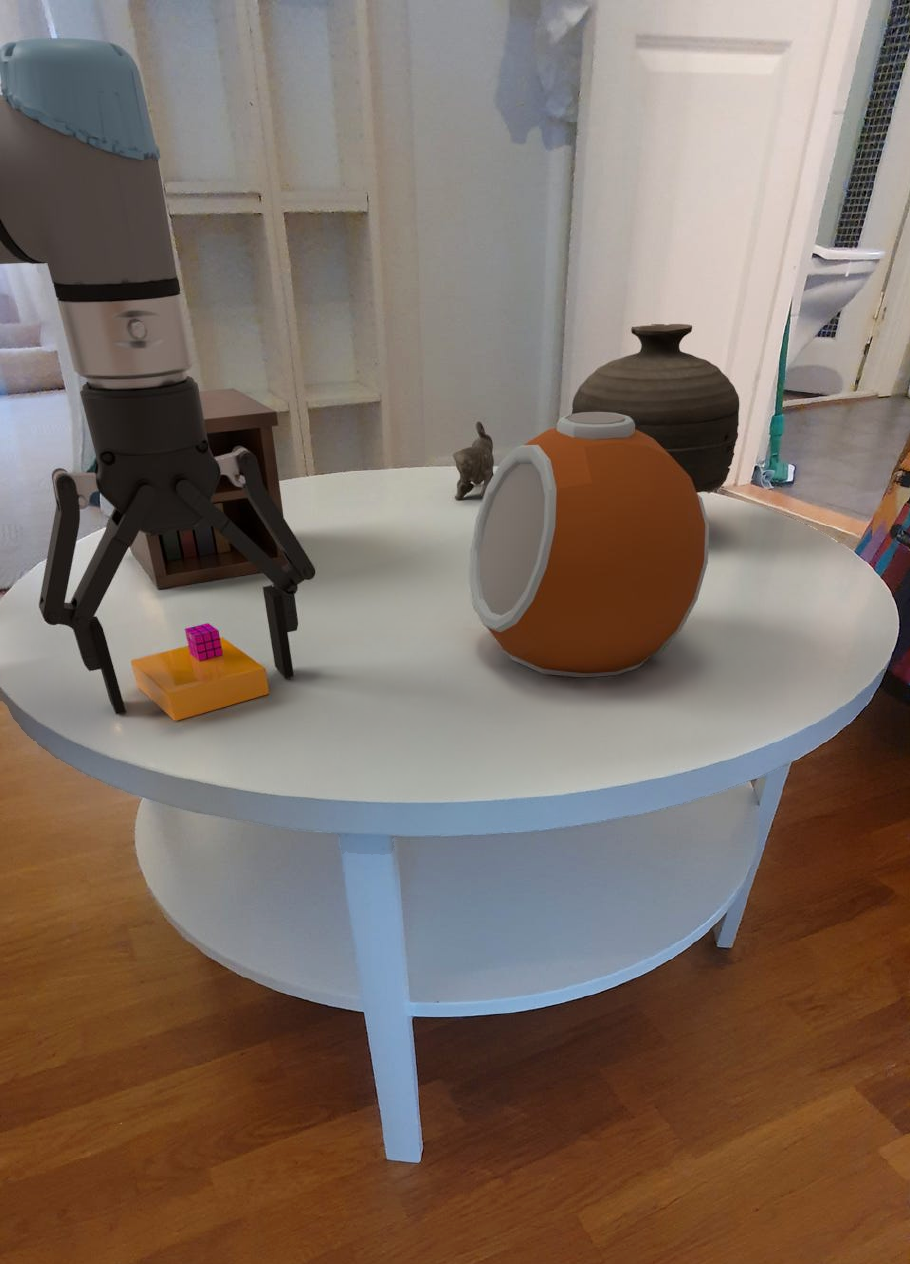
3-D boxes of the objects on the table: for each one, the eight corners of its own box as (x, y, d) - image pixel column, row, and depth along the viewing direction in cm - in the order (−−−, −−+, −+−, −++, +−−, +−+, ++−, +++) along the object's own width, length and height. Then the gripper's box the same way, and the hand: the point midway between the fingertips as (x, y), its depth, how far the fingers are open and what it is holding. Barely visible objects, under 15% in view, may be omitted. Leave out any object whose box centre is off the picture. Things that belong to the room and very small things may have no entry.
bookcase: (154, 592, 91) (116, 428, 82) (125, 551, 101) (89, 402, 92) (296, 568, 96) (276, 411, 86) (255, 531, 106) (233, 388, 97)
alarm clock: (445, 624, 83) (439, 405, 72) (617, 598, 87) (637, 388, 76) (527, 710, 69) (536, 456, 58) (726, 675, 74) (770, 432, 62)
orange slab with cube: (269, 694, 72) (261, 641, 70) (174, 722, 69) (162, 667, 66) (227, 662, 77) (218, 612, 75) (136, 686, 74) (123, 635, 71)
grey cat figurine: (459, 483, 122) (458, 419, 117) (502, 484, 121) (503, 420, 116) (443, 507, 113) (442, 439, 108) (489, 508, 112) (490, 440, 107)
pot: (526, 518, 106) (550, 308, 93) (651, 512, 113) (690, 316, 100) (608, 565, 94) (649, 333, 81) (743, 556, 101) (801, 339, 88)
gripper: (-68, 406, 52) (48, 742, 66) (337, 367, 61) (364, 674, 74) (-73, 388, 58) (35, 703, 71) (300, 354, 66) (333, 643, 79)
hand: (203, 689), depth 73 cm, fingers open, 13 cm apart
